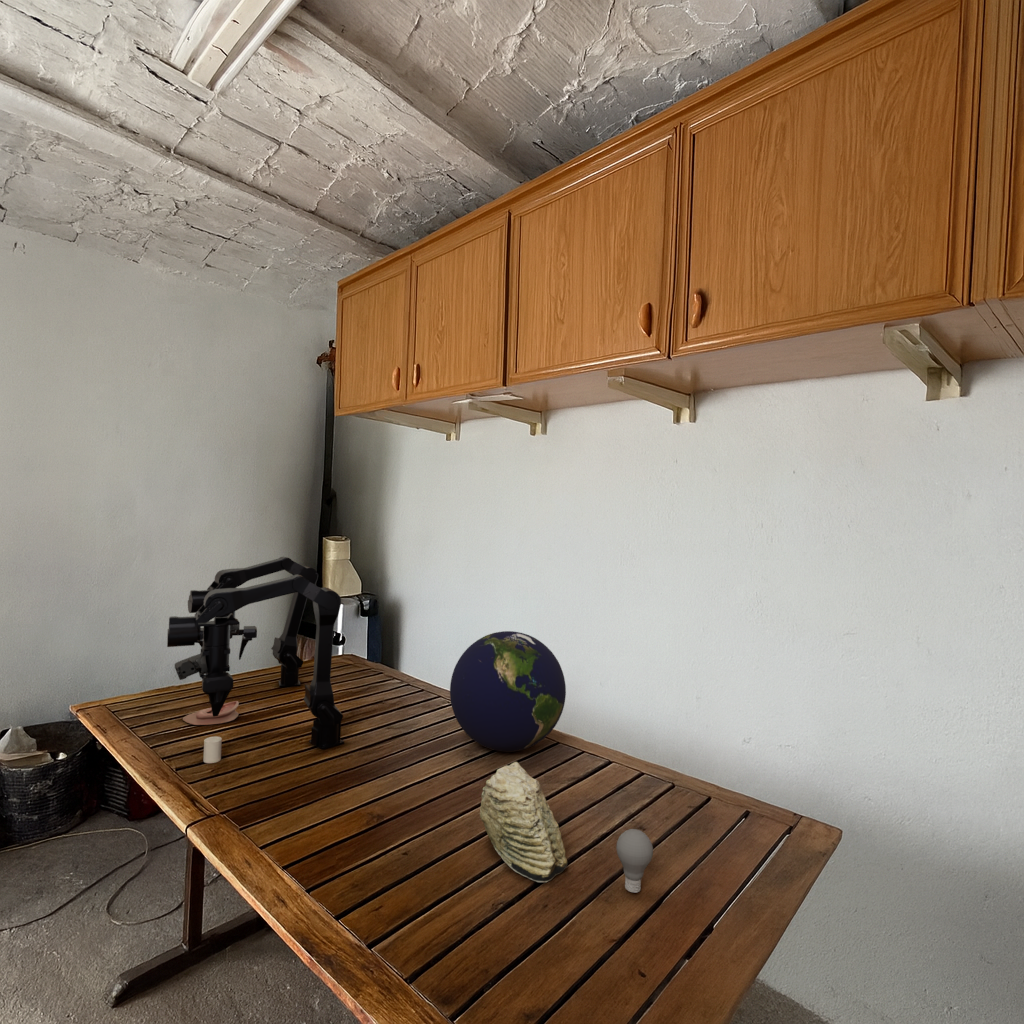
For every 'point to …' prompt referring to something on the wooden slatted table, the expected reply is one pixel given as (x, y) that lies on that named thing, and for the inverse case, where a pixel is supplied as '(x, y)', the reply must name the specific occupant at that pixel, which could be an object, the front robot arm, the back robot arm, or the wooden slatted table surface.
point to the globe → (507, 691)
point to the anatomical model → (207, 717)
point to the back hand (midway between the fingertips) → (223, 660)
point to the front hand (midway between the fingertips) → (213, 709)
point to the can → (212, 749)
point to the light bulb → (634, 857)
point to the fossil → (522, 824)
